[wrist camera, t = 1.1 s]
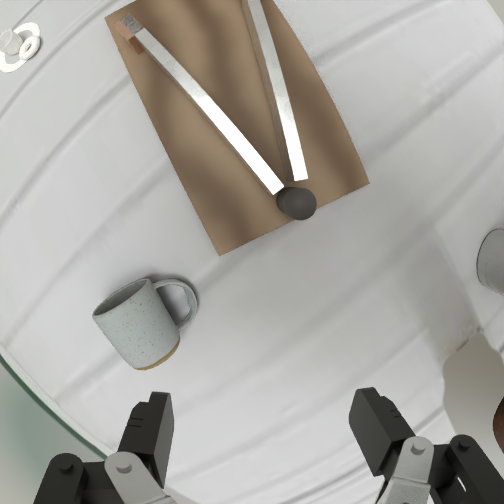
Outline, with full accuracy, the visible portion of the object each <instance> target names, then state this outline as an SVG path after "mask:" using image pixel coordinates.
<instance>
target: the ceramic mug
mask: <svg viewBox="0 0 504 504" xmlns="http://www.w3.org/2000/svg"><path fill="white" fill-rule="evenodd" d="M171 284H173V285H178V286H181V287H183V288H184V290H185V293H186V295H187V297H188V300H189V302H188V304H189V306H191V310H190V312H189V314H188V316H187V317H186V318H185V319H184V320H183V321H182V322H181V323H179V324H178V325H175V323H174V322H173V319H172V318H171V316H170V314H169V313H168V312H167V310H166V308H165V306H164V304H163V302H162V300H161V298H160V296H159V294H158V292H157V291H156V290H157V288H159V287H161V286H165V285H171ZM196 312H197V300H196V296H195V294H194V292H193V290H192V289H191V287H190V286H189V285H187V284H186V283H184V282H182V281H180V280H176V279H166V280H162V281H158V282H156V283H152V281H151V280H150V279H148V278H145V279H140V280H138V281H136V282H133V283H131V284H129V285H127V286H125V287H123V288H121V289H120V290H118V291H117V292H115V293H114V294H112V295H111V296H110V297H108V298H107V299H105V300H104V301H103V302H102V303H101V304H100V305H99V306H98V307H97V308H96V309H95V311H94V312H93V315H92V317H93V319H94V321H95V322H96V324H97V325H98V326H99V328H100V329H101V330H102V332H103V333H104V334H105V336H106V337H107V339H108V340H109V341H110V342H111V344H112V345H113V346H114V347H115V349H116V350H117V351H118V353H119V354H120V355H121V356H122V358H123V359H124V360H125V361H126V362H127V363H128V364H129V365H130V366H132V367H133V368H134V369H137V370H147V369H151V368H154V367H156V366H158V365H159V364H161V363H163V362H164V361H166V360H167V359H168V358H169V357H170V356H171V355H172V354H173V353H174V352H175V351H176V349H177V347H178V345H179V342H180V336H179V331H180V330H183V329H184V328H186V327H187V326H188V325H189V324H190V323H191V322H192V321H193V319H194V318H195V316H196Z"/></svg>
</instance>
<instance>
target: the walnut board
mask: <svg viewBox="0 0 504 504" xmlns="http://www.w3.org/2000/svg"><path fill="white" fill-rule="evenodd" d="M260 2H261V5H262V8H263V11H264V14H265V18H266V21H267V24H268V27H269V30H270V33H271V37H272V40H273V43H274V47H275V50H276V53H277V57H278V60H279V64H280V67H281V71H282V74H283V78H284V82H285V85H286V89H287V93H288V97H289V100H290V104H291V108H292V112H293V116H294V120H295V124H296V128H297V132H298V137H299V141H300V145H301V149H302V154H303V158H304V163H305V167H306V172H307V176H308V179H303V180H298V181H287V179H286V175H285V170H284V166H283V161H282V157H281V153H280V148H279V144H278V140H277V136H276V131H275V127H274V123H273V119H272V115H271V111H270V107H269V103H268V99H267V95H266V91H265V88H264V84H263V80H262V76H261V72H260V69H259V65H258V61H257V58H256V54H255V50H254V47H253V43H252V40H251V36H250V33H249V29H248V26H247V23H246V19H245V16H244V13H243V9H242V6H241V3H240V0H136V1H134V2H132V3H130V4H128V5H127V6H125V7H123V8H121V9H119V10H117V11H115V12H114V13H112V14H110V15H108V16H107V17H105V20H106V22H107V25H108V27H109V29H110V32H111V34H112V36H113V38H114V41H115V43H116V45H117V47H118V50H119V52H120V54H121V56H122V59H123V61H124V63H125V65H126V67H127V70H128V72H129V74H130V76H131V78H132V80H133V83H134V85H135V87H136V89H137V91H138V93H139V96H140V98H141V100H142V102H143V104H144V106H145V108H146V111H147V113H148V115H149V117H150V119H151V121H152V123H153V125H154V127H155V129H156V131H157V134H158V136H159V138H160V140H161V142H162V144H163V146H164V148H165V150H166V152H167V154H168V156H169V158H170V160H171V162H172V164H173V166H174V168H175V170H176V172H177V174H178V176H179V179H180V181H181V183H182V185H183V187H184V189H185V191H186V192H187V194H188V196H189V198H190V200H191V202H192V204H193V206H194V208H195V210H196V212H197V214H198V216H199V218H200V220H201V222H202V224H203V226H204V228H205V230H206V232H207V234H208V236H209V238H210V239H211V241H212V243H213V245H214V247H215V249H216V251H217V253H218V255H219V256H221V255H223V254H225V253H227V252H229V251H231V250H233V249H235V248H237V247H239V246H241V245H243V244H245V243H247V242H249V241H251V240H254V239H256V238H258V237H260V236H262V235H264V234H266V233H268V232H270V231H272V230H274V229H276V228H278V227H280V226H282V225H284V224H286V223H288V222H290V221H293V220H295V219H296V220H306V219H308V218H310V217H311V216H312V215H313V214H314V212H315V210H316V209H317V208H319V207H322V206H324V205H326V204H328V203H330V202H332V201H334V200H336V199H338V198H340V197H342V196H344V195H347V194H349V193H351V192H353V191H355V190H357V189H359V188H361V187H363V186H365V185H368V184H370V183H369V180H368V178H367V175H366V173H365V170H364V168H363V165H362V163H361V161H360V158H359V156H358V154H357V151H356V149H355V147H354V145H353V142H352V140H351V138H350V136H349V134H348V131H347V129H346V127H345V125H344V123H343V121H342V119H341V117H340V115H339V113H338V111H337V109H336V107H335V105H334V103H333V101H332V99H331V97H330V95H329V93H328V91H327V89H326V87H325V85H324V83H323V82H322V80H321V78H320V76H319V74H318V72H317V71H316V69H315V67H314V65H313V64H312V62H311V60H310V58H309V57H308V55H307V53H306V51H305V50H304V48H303V46H302V45H301V43H300V41H299V40H298V38H297V37H296V35H295V33H294V32H293V30H292V29H291V27H290V25H289V24H288V22H287V21H286V19H285V18H284V16H283V15H282V13H281V12H280V10H279V9H278V7H277V6H276V4H275V3H274V1H273V0H260ZM128 13H130V14H131V15H132V16H133V17H134V18H135V19H136V20H137V21H138V22H139V23H140V24H141V25H142V26H143V27H144V28H145V29H146V30H147V31H148V32H149V33H150V34H151V35H152V36H153V37H154V38H155V39H156V40H157V41H158V42H159V43H160V44H161V45H162V46H163V47H164V48H165V49H166V50H167V51H168V52H169V53H170V54H171V55H172V56H173V58H174V59H175V60H176V61H177V62H178V63H179V64H180V65H181V66H182V67H183V68H184V69H185V70H186V71H187V72H188V74H189V75H190V76H191V77H192V78H193V79H194V80H195V81H196V82H197V83H198V85H199V86H200V87H201V88H202V89H203V90H204V91H205V92H206V93H207V95H208V96H209V97H210V98H211V99H212V100H213V101H214V102H215V104H216V105H217V106H218V107H219V108H220V109H221V110H222V112H223V113H224V114H225V115H226V116H227V117H228V119H229V120H230V121H231V122H232V123H233V124H234V126H235V127H236V128H237V129H238V130H239V131H240V133H241V134H242V135H243V136H244V137H245V139H246V140H247V141H248V142H249V143H250V145H251V146H252V147H253V148H254V149H255V151H256V152H257V153H258V154H259V156H260V157H261V158H262V159H263V160H264V162H265V163H266V164H267V165H268V167H269V168H270V169H271V170H272V172H273V173H274V174H275V175H276V177H277V178H278V179H279V180H280V182H281V183H282V184H283V186H284V187H282V188H281V189H280V190H279V191H277V192H276V193H275V194H274V195H273V194H269V193H267V191H266V190H265V189H264V188H263V186H262V185H261V184H260V183H259V181H258V180H257V179H256V178H255V176H254V175H253V174H252V173H251V171H250V170H249V169H248V168H247V167H246V165H245V164H244V163H243V162H242V161H241V159H240V158H239V157H238V156H237V154H236V153H235V152H234V151H233V150H232V148H231V147H230V146H229V145H228V144H227V143H226V141H225V140H224V139H223V138H222V137H221V135H220V134H219V133H218V132H217V131H216V130H215V128H214V127H213V126H212V125H211V124H210V123H209V121H208V120H207V119H206V118H205V117H204V116H203V114H202V113H201V112H200V111H199V110H198V109H197V108H196V106H195V105H194V104H193V103H192V102H191V101H190V100H189V98H188V97H187V96H186V95H185V94H184V93H183V92H182V91H181V89H180V88H179V87H178V86H177V85H176V84H175V83H174V82H173V80H172V79H171V78H170V77H169V76H168V75H167V74H166V73H165V72H164V71H163V69H162V68H161V67H160V66H159V65H158V64H157V63H156V62H155V61H154V60H153V59H152V58H151V57H150V55H149V54H148V53H147V52H146V51H145V50H143V51H142V52H141V53H140V54H138V53H137V52H136V51H135V50H134V49H133V48H132V47H131V46H130V45H129V44H128V43H127V42H126V41H125V39H124V38H123V37H122V36H121V34H120V33H119V32H118V30H117V29H116V28H115V26H114V24H115V23H116V22H118V21H119V20H120V19H122V18H123V17H124V16H126V15H127V14H128Z"/></svg>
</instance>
